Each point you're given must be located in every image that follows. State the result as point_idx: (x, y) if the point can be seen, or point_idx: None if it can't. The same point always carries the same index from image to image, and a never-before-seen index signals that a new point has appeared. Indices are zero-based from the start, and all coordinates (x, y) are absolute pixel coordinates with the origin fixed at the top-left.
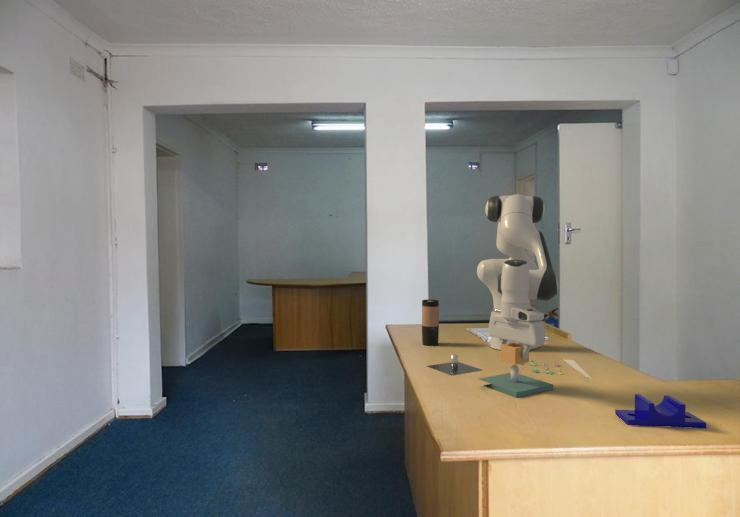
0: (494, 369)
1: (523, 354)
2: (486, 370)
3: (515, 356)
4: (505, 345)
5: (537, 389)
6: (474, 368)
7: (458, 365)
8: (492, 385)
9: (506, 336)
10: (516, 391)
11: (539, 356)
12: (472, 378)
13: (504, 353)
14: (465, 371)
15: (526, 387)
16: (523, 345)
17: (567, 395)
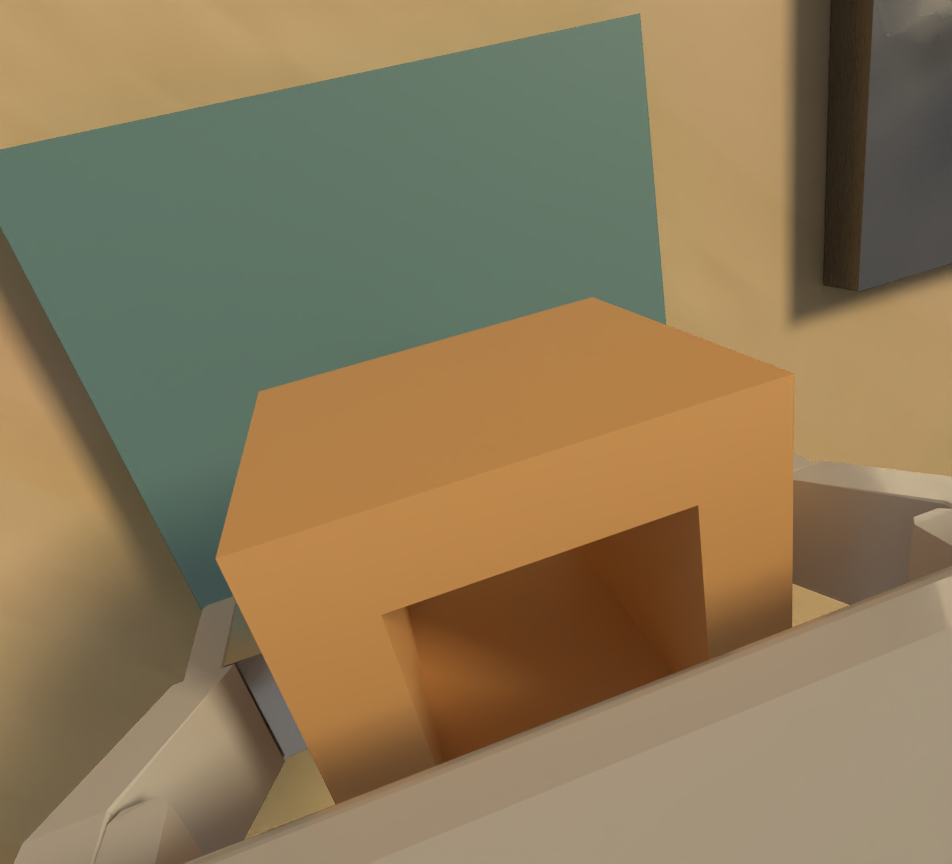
0: (879, 459)
1: (201, 644)
2: (893, 379)
3: (244, 457)
4: (669, 459)
5: (149, 498)
6: (940, 230)
7: None
8: (388, 68)
9: (929, 695)
10: (16, 191)
11: None
12: (777, 87)
13: (563, 356)
14: (919, 52)
15: (177, 402)
16: (132, 854)
17: (51, 691)
